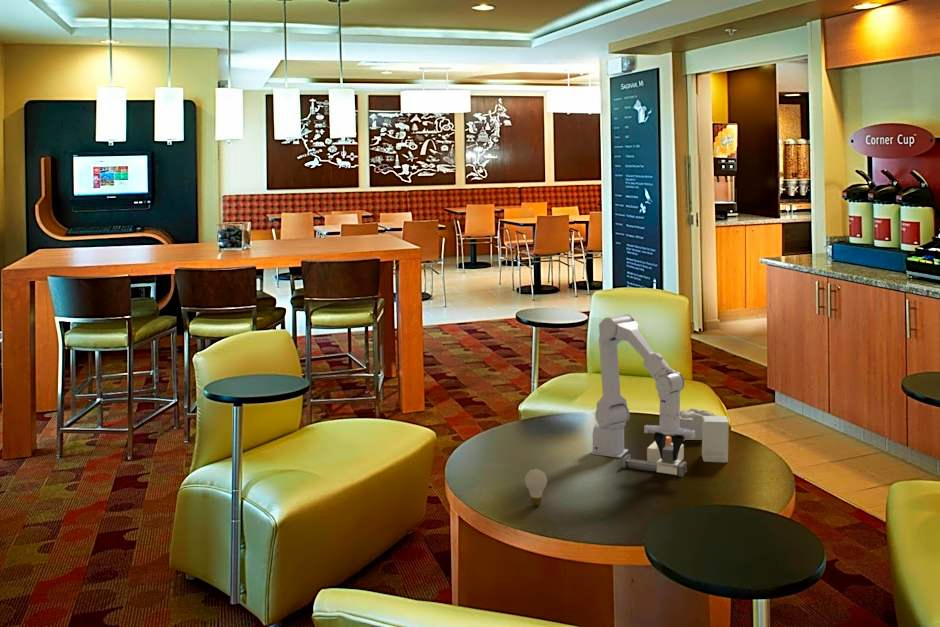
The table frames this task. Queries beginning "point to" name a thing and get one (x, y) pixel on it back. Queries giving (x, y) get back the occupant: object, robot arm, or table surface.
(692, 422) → the lumpy-topped squat cylinder
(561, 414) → the table surface
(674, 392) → the robot arm
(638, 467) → the rail
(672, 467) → the carriage
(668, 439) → the plunger
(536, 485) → the light bulb
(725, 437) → the supplement box
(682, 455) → the white hollow block
